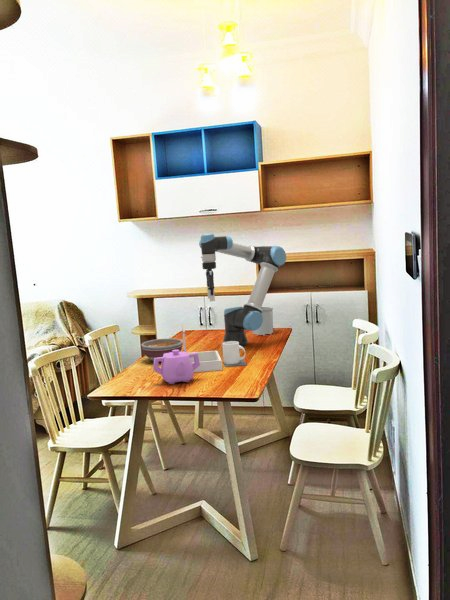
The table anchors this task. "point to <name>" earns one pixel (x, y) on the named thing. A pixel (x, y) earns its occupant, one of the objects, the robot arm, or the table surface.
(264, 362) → the table surface
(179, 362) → the purple rounded pot
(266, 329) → the utensil holder
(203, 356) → the cold frame
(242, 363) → the slate mat
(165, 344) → the bowl
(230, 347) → the mug
